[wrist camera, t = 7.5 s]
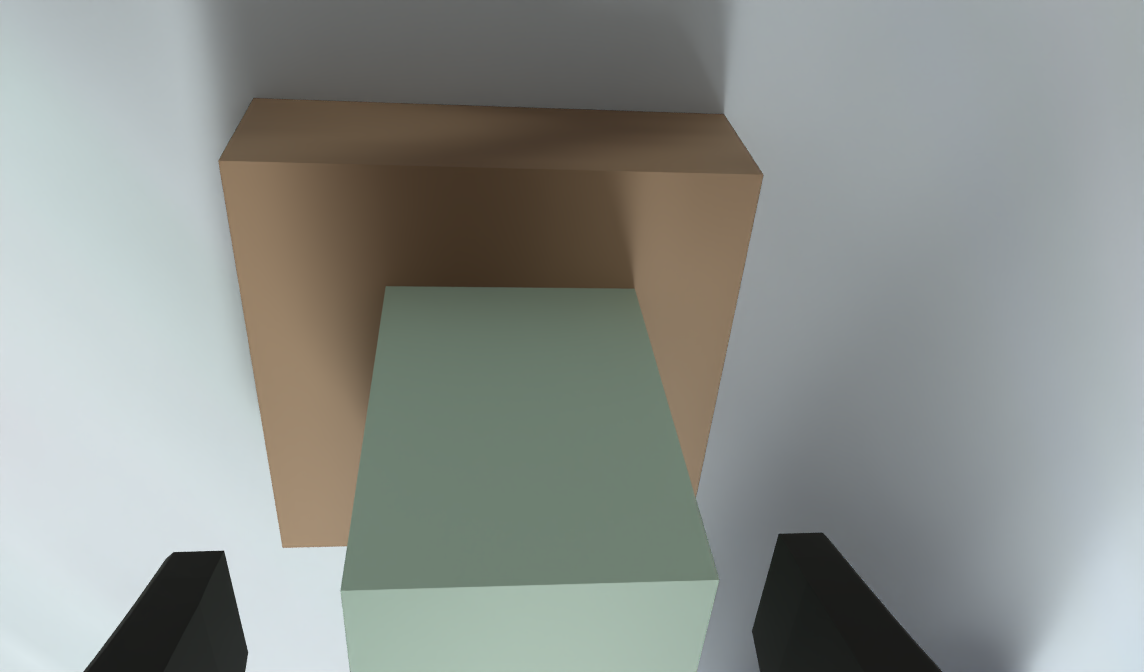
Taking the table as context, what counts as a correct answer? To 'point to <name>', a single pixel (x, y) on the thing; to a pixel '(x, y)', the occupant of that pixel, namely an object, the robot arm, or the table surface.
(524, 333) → the green block
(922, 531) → the table surface
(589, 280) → the walnut plinth
